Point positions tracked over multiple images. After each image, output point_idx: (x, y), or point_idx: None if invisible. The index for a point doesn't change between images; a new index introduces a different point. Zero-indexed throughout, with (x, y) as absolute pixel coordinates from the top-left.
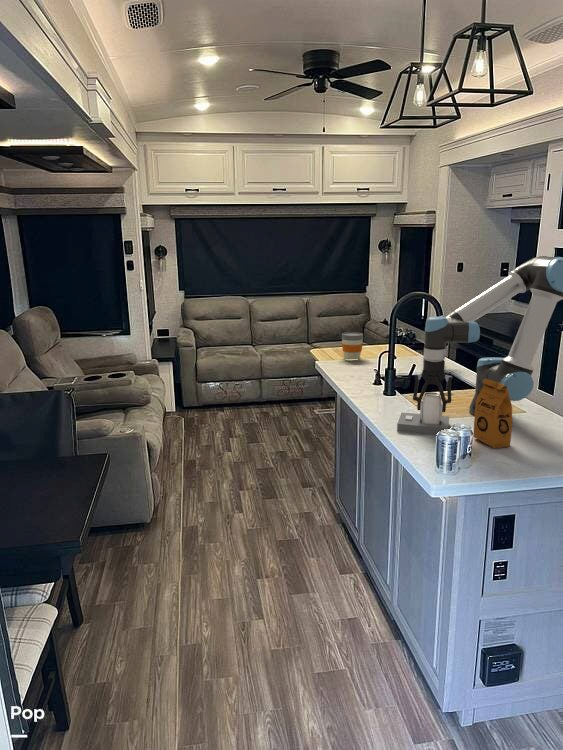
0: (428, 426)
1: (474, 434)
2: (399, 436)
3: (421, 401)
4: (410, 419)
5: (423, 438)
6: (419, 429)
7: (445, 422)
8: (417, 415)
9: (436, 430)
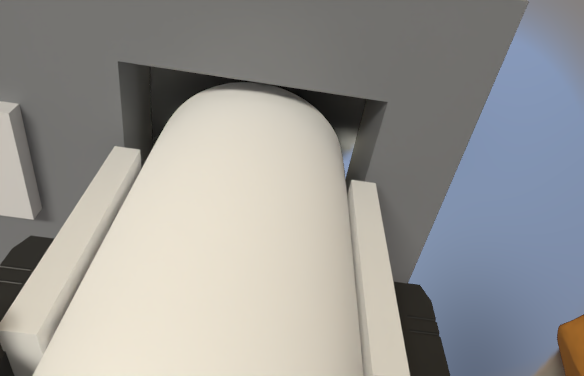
0: None
1: (568, 359)
2: None
3: (13, 354)
4: (23, 215)
5: None
6: None
7: (400, 224)
8: (59, 15)
9: None
